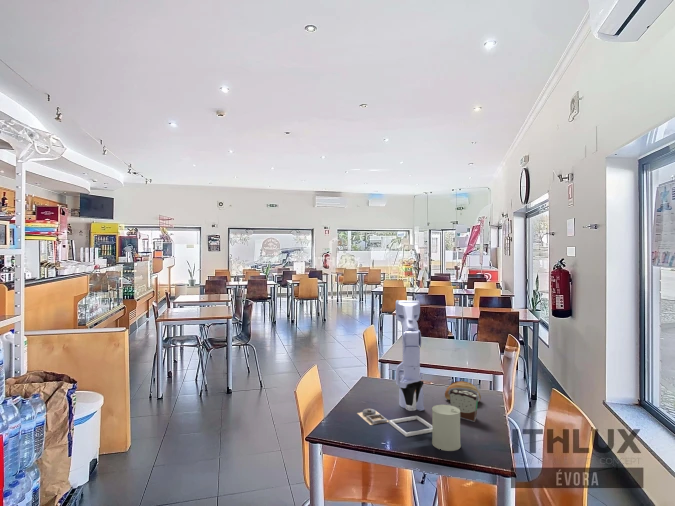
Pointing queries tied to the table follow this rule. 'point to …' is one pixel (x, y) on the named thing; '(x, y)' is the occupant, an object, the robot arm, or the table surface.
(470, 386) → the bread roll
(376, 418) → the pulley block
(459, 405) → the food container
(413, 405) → the glass shaker
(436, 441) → the can
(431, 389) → the table surface
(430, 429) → the white square frame
